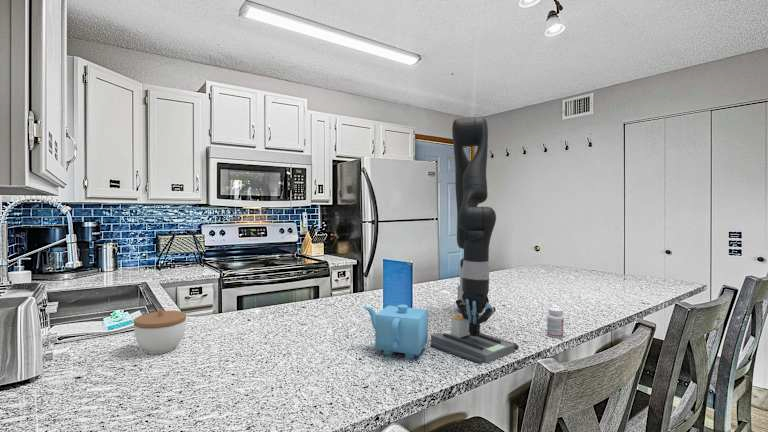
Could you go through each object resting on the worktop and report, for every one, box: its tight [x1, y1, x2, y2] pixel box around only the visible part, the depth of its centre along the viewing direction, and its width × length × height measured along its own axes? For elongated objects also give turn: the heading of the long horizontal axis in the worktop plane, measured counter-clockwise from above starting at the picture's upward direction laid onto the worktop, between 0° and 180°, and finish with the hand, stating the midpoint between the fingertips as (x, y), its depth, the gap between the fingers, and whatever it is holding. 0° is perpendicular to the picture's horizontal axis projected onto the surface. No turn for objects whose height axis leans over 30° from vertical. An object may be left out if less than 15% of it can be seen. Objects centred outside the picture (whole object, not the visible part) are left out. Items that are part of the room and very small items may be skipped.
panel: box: [430, 328, 515, 364], centre depth 115 cm, size 20×13×3 cm, turn 39°
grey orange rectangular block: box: [450, 314, 470, 338], centre depth 118 cm, size 3×6×5 cm, turn 129°
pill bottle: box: [546, 307, 565, 339], centre depth 126 cm, size 5×5×8 cm
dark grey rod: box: [480, 332, 520, 350], centre depth 121 cm, size 19×1×1 cm, turn 39°
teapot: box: [362, 304, 429, 360], centre depth 112 cm, size 18×16×13 cm
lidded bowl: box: [133, 308, 187, 355], centre depth 110 cm, size 13×13×11 cm
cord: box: [430, 342, 483, 364], centre depth 109 cm, size 17×1×1 cm, turn 44°
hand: (474, 335), depth 115 cm, fingers closed
